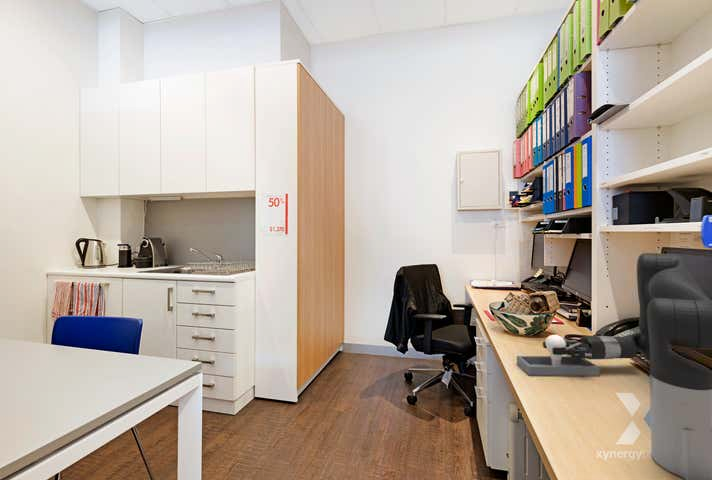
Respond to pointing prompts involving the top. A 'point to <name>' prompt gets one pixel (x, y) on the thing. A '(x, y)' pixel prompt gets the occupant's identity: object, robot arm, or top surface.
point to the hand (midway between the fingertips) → (548, 347)
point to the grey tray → (567, 368)
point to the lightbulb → (555, 342)
